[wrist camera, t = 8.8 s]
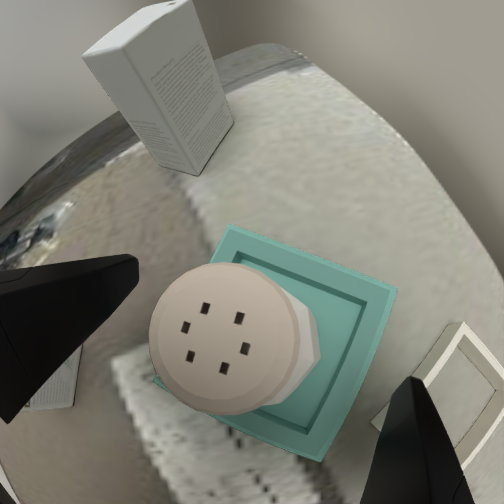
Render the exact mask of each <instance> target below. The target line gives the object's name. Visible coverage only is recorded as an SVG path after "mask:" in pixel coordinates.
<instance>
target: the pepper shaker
mask: <svg viewBox="0 0 504 504" xmlns="http://www.w3.org/2000/svg"><path fill="white" fill-rule="evenodd" d="M148 335H149V352H150V356H151V359H152V362H153V366H154V369H155V371H156V373H157V375H158V376H159V378H160V380H161V381H162V383H163V384H164V386H165V387H166V388H167V389H168V390H169V391H170V392H171V393H172V394H173V395H174V396H175V397H176V398H177V399H178V400H179V401H181V402H182V403H184V404H186V405H188V406H189V407H191V408H193V409H195V410H197V411H201V412H204V413H208V414H212V415H238V414H242V413H245V412H249V411H252V410H255V409H257V408H259V407H260V406H264V405H273V404H279V403H281V402H283V401H284V400H285V399H286V398H287V397H288V396H289V395H290V394H291V393H292V392H293V391H294V390H295V389H296V388H297V387H298V386H299V385H300V384H301V382H302V381H303V380H304V379H305V378H306V376H307V375H308V374H309V373H310V372H311V370H312V369H313V368H314V367H315V365H316V364H317V363H318V362H319V360H320V359H321V353H320V344H319V336H318V329H317V321H316V319H315V317H314V315H313V314H312V312H311V310H310V309H309V308H308V307H306V306H305V305H304V304H303V303H302V302H301V301H299V300H298V299H297V298H295V297H294V296H293V295H291V294H290V293H289V292H287V291H286V290H284V289H283V288H282V287H280V286H279V285H278V284H277V283H276V282H274V281H273V280H272V279H270V278H269V277H268V276H266V275H265V274H264V273H262V272H261V271H259V270H256V269H253V268H251V267H248V266H246V265H243V264H237V263H229V262H218V263H211V264H204V265H202V266H199V267H197V268H195V269H192V270H190V271H187V272H186V273H184V274H183V275H182V276H180V277H179V278H178V279H176V280H175V281H174V282H172V283H171V285H170V286H169V287H168V288H167V289H166V291H165V292H164V293H163V294H162V296H161V297H160V299H159V301H158V303H157V305H156V307H155V309H154V311H153V314H152V317H151V322H150V327H149V333H148Z"/></svg>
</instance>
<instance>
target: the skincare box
mask: <svg viewBox="0 0 504 504" xmlns="http://www.w3.org/2000/svg"><path fill="white" fill-rule="evenodd" d="M82 59H83V60H84V61H85V63H86V65H87V66H88V67H89V69H90V70H91V72H92V73H93V74H94V76H95V77H96V79H97V80H98V82H99V83H100V84H101V86H102V87H103V89H104V90H105V91H106V93H107V94H108V96H109V97H110V98H111V100H112V101H113V102H114V104H115V105H116V107H117V108H118V109H119V111H120V112H121V114H122V115H123V116H124V118H125V119H126V121H127V122H128V123H129V125H130V126H131V127H132V129H133V130H134V132H135V133H136V134H137V136H138V137H139V138H140V140H141V141H142V142H143V144H144V145H145V147H146V148H147V149H148V151H149V152H150V153H151V155H152V156H153V157H154V159H155V160H156V161H157V163H158V164H159V165H160V166H163V167H167V168H171V169H175V170H178V171H182V172H186V173H189V174H192V175H196V176H198V175H199V174H200V172H201V171H202V169H203V168H204V166H205V164H206V163H207V161H208V160H209V158H210V157H211V155H212V154H213V152H214V151H215V149H216V148H217V146H218V144H219V143H220V142H221V140H222V139H223V137H224V136H225V134H226V133H227V131H228V130H229V128H230V127H231V126H232V124H233V118H232V115H231V112H230V109H229V106H228V103H227V100H226V97H225V94H224V91H223V88H222V85H221V82H220V79H219V76H218V73H217V70H216V67H215V64H214V62H213V59H212V56H211V53H210V50H209V47H208V44H207V42H206V39H205V36H204V33H203V30H202V27H201V25H200V22H199V19H198V16H197V13H196V10H195V7H194V5H193V2H192V0H175V1H170V2H164V3H159V4H155V5H151V6H147V7H144V8H142V9H140V10H139V11H138V12H136V13H135V14H133V15H132V16H131V17H129V18H128V19H126V20H125V21H124V22H122V23H121V24H120V25H118V26H117V27H115V28H114V29H113V30H111V31H110V32H109V33H107V34H106V35H105V36H104V37H103V38H101V39H100V40H99V41H98V42H96V43H95V44H94V45H93V46H92V47H91V48H89V49H88V50H87V51H86V52H85V53H84V54H83V55H82Z"/></svg>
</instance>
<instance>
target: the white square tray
mask: <svg viewBox="0 0 504 504" xmlns="http://www.w3.org/2000/svg"><path fill="white" fill-rule="evenodd" d="M456 346H458V347H459V348H460V350H461V351H462V352H463V353H464V354H465V355H466V356H467V357H468V358H469V359H470V360H471V362H472V363H473V364H474V365H475V366H476V367H477V368H478V369H479V371H480V372H481V373H482V374H483V375H484V376H485V378H486V379H487V380H488V381H489V382H490V383H491V385H492V386H493V387H494V388H495V389H496V392H495V393H494V395H493V396H492V398H491V400H490V401H489V403H488V404H487V406H486V407H485V409H484V410H483V412H482V413H481V415H480V416H479V418H478V419H477V420H476V422H475V423H474V425H473V426H472V427H471V429H470V430H469V431H468V433H467V434H466V435H465V437H464V438H463V439H462V440H461V442H460V443H459V444H458V445H457V446H456V448H455V449H454V450H455V452H456V455H457V457H458V460H459V463H460V465H461V468H462V470H464V468H465V467H466V466H467V465H468V464H469V462H470V461H471V460H472V459H473V458H474V456H475V455H476V454H477V453H478V451H479V450H480V449H481V447H482V446H483V445H484V443H485V442H486V441H487V439H488V438H489V437H490V435H491V434H492V432H493V431H494V429H495V428H496V427H497V425H498V424H499V422H500V420H501V419H502V417H503V416H504V368H503V367H502V366H501V364H500V363H499V362H498V361H497V359H496V358H495V357H494V356H493V355H492V353H491V352H490V351H489V350H488V349H487V347H486V346H485V345H484V344H483V343H482V342H481V340H480V339H479V338H478V337H477V336H476V335H475V334H474V332H473V331H472V330H471V329H470V328H469V327H468V326H467V325H466V324H465V323H464V321H463V322H459V323H455V324H451V325H447V327H446V329H445V330H444V332H443V333H442V335H441V336H440V338H439V339H438V341H437V342H436V343H435V345H434V346H433V348H432V349H431V351H430V352H429V353H428V355H427V356H426V357H425V359H424V360H423V361H422V363H421V364H420V365H419V367H418V368H417V369H416V371H415V372H414V373H413V374H412V376H414V377H417V378H420V379H421V380H422V381H423V383H424V385H425V387H426V388H427V387H428V386H429V385H430V383H431V382H432V381H433V379H434V378H435V377H436V375H437V374H438V372H439V371H440V370H441V368H442V367H443V365H444V364H445V363H446V361H447V360H448V358H449V357H450V355H451V354H452V352H453V351H454V349H455V348H456ZM389 403H390V401H389ZM389 403H388V404H387V405H386V406H385V407H384V408H383V409H382V410H381V411H380V412H379V413H378V414H377V415H376V416H375V417H374V418H373V419H372V420H371V421H370V422H371V423H372V424H373V425H374V426H375V427H376V428H377V429H378V430H379V431H380V432H381V430H382V427H383V423H384V420H385V417H386V414H387V410H388V407H389Z"/></svg>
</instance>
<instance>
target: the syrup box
mask: <svg viewBox="0 0 504 504" xmlns="http://www.w3.org/2000/svg"><path fill="white" fill-rule="evenodd" d="M81 347H82V344H81V345H80V347H79V348H78V349H77V350H76V351H75V352H74V353H73V354H72V355H71V356H70V357H69V358H68V359H67V360H66V361H65V362H64V363H63V364H62V365H61V366H60V367H59V368H58V369H57V370H56V371H55V373H54V374H53V375H52V376H51V377H50V378H49V379H48V380H47V381H46V382H45V383H44V384H43V385H42V387H41V388H40V389H38V391H37V392H36V393H35V394H34V396H33V397H32V398H31V399H30V400H29V401H28V402H27V403H26V405H25V406H24V407H23V408H22V409H21V410H20V412H29V411H42V410H51V409H60V408H67V407H71V406H72V405H73V400H74V393H75V387H76V379H77V373H78V366H79V360H80V354H81Z"/></svg>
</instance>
